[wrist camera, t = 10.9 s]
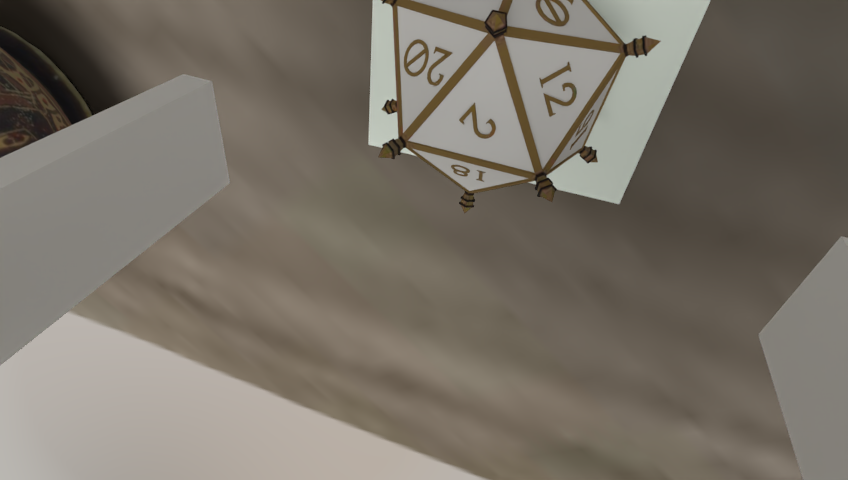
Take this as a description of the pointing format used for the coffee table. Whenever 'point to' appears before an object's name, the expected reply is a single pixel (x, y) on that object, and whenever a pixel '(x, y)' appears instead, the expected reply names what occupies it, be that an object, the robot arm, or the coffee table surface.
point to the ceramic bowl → (33, 95)
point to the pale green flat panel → (623, 109)
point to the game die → (501, 87)
